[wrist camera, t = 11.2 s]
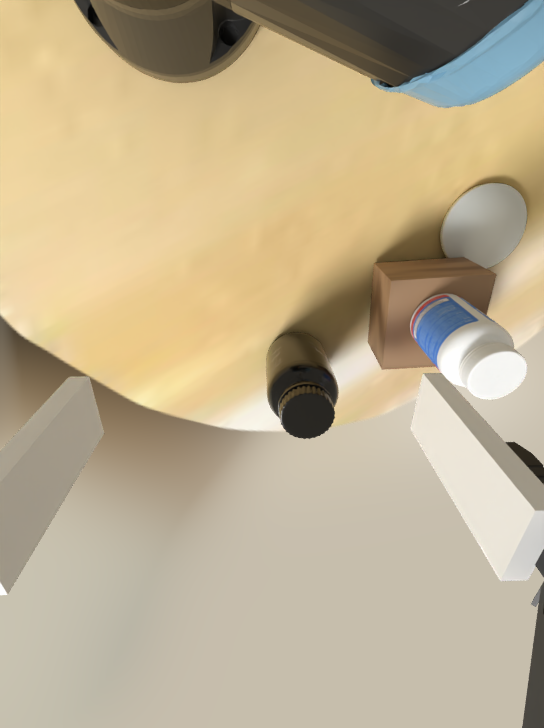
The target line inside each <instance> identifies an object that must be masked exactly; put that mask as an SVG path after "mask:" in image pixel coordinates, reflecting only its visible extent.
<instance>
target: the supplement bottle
mask: <svg viewBox="0 0 544 728" xmlns="http://www.w3.org/2000/svg"><path fill="white" fill-rule="evenodd" d="M266 374H267V397H268V402H269V405H270V407H271V409H272V411H273V412H274V413H275V414H276V415H277V416H278V417H279V418H280V420H281V424H282V425H283V428H284V429H285V430H286V432H288V433H289V434H290V435H293V436H294V437H298V438H304V439H306V438H309V439H310V438H315V437H317V436H320V435H321V434H323V433H325V431H327V430H328V429H329V427H331V424H332V423H333V420H334V418H335V416H334V414H335V411H334V407H335V405H336V402H337V399H338V385H337V381H336V378H335V376H334V373H333V371H332V368H331V366H330V363H329V361H328V358H327V356H326V353H325V351H324V349H323V347H322V345H321V344H320V342H319V341H318V340H317V339H316V338H314V337H313V336H311V335H309V334H306V333H301V332H293V333H288V334H285V335H283V336H281V337H279V338H278V339H277V340H276V341H274V343H273V344H272V345H271V346H270V348H269V350H268V353H267V358H266Z"/></svg>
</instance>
